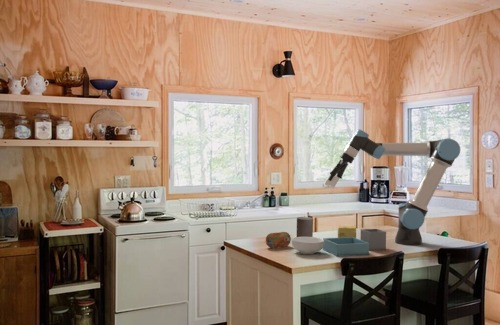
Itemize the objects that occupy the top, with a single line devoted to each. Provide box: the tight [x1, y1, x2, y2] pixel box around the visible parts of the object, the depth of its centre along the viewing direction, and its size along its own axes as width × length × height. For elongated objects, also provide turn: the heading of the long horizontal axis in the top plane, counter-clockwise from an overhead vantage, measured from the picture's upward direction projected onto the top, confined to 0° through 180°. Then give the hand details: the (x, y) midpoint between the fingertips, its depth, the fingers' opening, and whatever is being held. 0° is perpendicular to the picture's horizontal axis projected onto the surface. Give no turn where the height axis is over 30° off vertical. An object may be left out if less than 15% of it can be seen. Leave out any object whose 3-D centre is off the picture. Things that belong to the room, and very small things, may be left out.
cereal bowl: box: [291, 236, 324, 255], centre depth 254 cm, size 17×17×7 cm
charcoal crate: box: [360, 228, 387, 252], centre depth 266 cm, size 10×10×10 cm
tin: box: [265, 231, 292, 249], centre depth 268 cm, size 15×3×8 cm, turn 117°
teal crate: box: [322, 237, 370, 257], centre depth 256 cm, size 18×18×6 cm
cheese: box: [337, 225, 357, 238], centre depth 279 cm, size 10×11×10 cm
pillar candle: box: [296, 215, 314, 237], centre depth 287 cm, size 10×10×15 cm
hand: (329, 185), depth 279 cm, fingers open, 13 cm apart
